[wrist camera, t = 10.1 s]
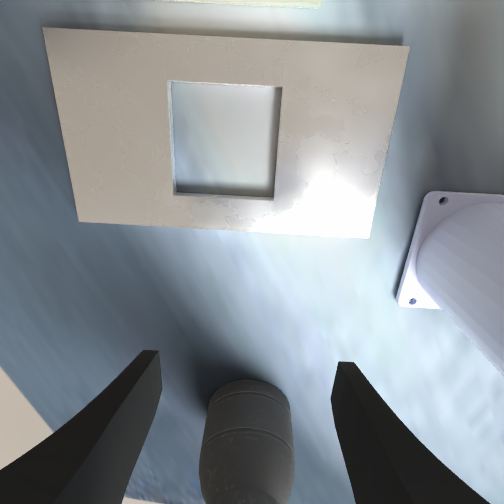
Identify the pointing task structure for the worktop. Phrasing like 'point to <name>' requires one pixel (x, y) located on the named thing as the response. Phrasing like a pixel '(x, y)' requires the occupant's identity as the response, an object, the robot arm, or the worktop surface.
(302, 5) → the tile
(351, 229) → the rail plate
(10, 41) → the worktop surface
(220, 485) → the flashlight
